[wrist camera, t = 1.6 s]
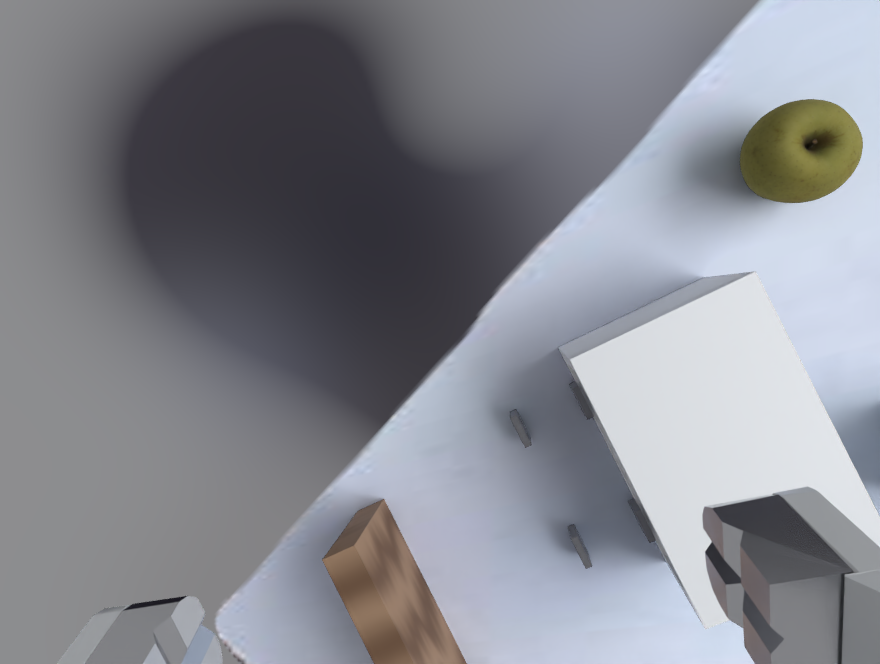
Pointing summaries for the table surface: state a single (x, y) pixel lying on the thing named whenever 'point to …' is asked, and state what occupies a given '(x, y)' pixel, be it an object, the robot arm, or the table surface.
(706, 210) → the table surface
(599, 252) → the table surface
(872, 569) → the robot arm
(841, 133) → the apple
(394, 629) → the door
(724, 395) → the cabinet
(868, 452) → the table surface
